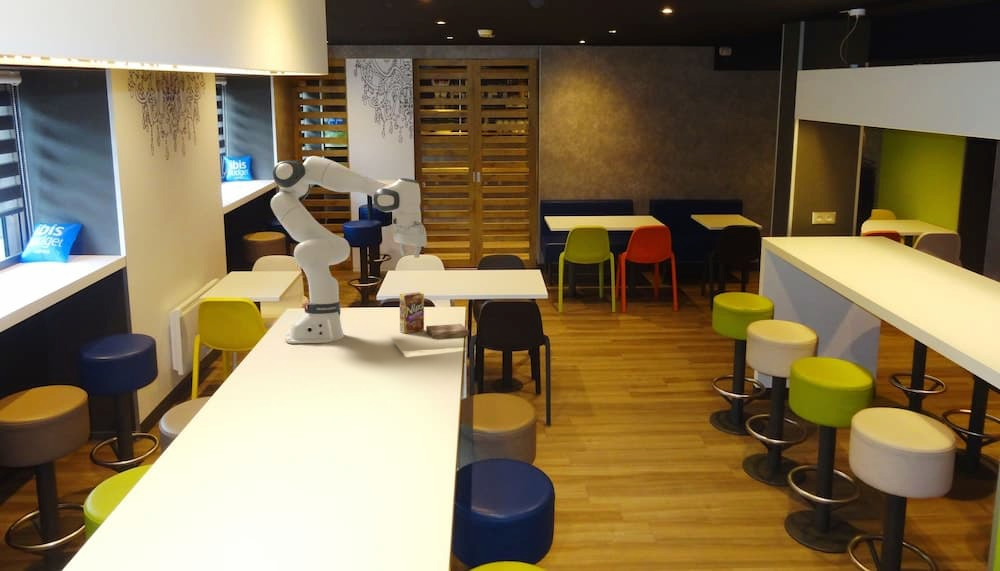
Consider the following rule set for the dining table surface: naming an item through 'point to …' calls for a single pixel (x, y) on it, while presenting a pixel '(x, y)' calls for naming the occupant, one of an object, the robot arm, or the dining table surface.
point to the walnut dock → (447, 331)
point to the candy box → (411, 312)
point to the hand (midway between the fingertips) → (410, 256)
